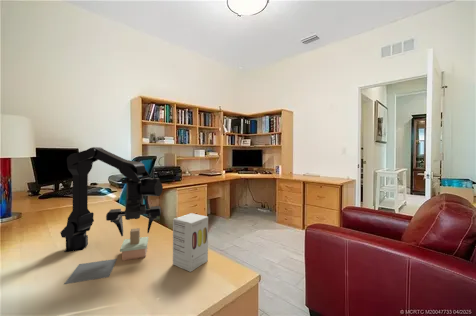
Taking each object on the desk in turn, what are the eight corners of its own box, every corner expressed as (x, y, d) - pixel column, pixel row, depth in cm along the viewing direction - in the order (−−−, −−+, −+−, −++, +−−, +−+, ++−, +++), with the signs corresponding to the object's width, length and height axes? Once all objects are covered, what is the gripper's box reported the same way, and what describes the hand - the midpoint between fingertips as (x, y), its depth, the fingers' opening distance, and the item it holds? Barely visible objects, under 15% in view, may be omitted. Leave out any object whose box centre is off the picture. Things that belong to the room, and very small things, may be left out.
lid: (124, 241, 86) (124, 227, 86) (148, 239, 89) (148, 224, 89) (119, 251, 77) (119, 235, 77) (146, 248, 80) (146, 232, 80)
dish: (122, 261, 78) (121, 251, 78) (125, 251, 86) (125, 242, 86) (145, 258, 81) (145, 247, 81) (147, 249, 88) (147, 239, 88)
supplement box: (190, 272, 71) (190, 223, 71) (171, 264, 76) (171, 218, 76) (208, 260, 80) (208, 216, 79) (190, 254, 84) (190, 212, 84)
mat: (63, 285, 64) (63, 284, 64) (79, 265, 76) (79, 264, 76) (109, 278, 68) (109, 276, 68) (117, 259, 79) (117, 258, 79)
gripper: (101, 201, 72) (102, 246, 72) (160, 197, 78) (160, 239, 78) (109, 194, 82) (110, 234, 83) (160, 192, 88) (160, 229, 89)
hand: (135, 234), depth 83 cm, fingers open, 9 cm apart
